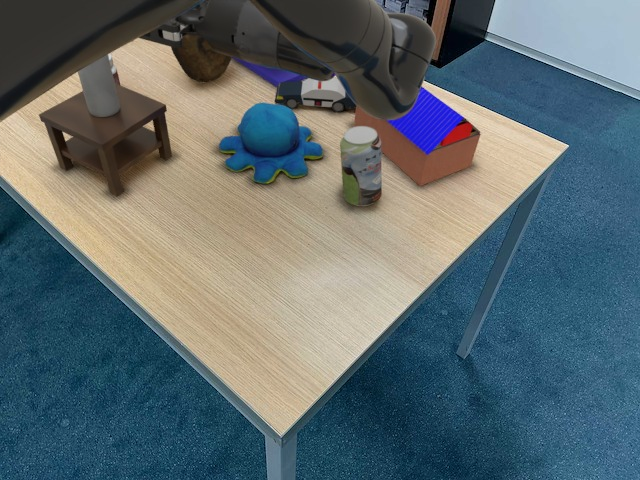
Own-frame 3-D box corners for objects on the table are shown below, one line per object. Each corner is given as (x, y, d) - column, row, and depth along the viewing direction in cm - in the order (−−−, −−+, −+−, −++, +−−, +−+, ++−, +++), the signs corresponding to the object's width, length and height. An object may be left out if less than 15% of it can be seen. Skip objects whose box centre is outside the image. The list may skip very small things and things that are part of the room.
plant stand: (116, 198, 83) (102, 144, 76) (57, 168, 88) (38, 114, 80) (174, 156, 91) (166, 104, 84) (117, 130, 96) (105, 78, 89)
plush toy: (210, 132, 97) (206, 91, 91) (300, 117, 102) (301, 77, 96) (235, 191, 86) (232, 148, 80) (334, 171, 91) (338, 129, 85)
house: (402, 110, 106) (412, 53, 97) (473, 166, 94) (492, 107, 86) (351, 126, 101) (358, 67, 92) (419, 187, 89) (434, 127, 81)
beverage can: (374, 215, 84) (385, 152, 75) (329, 203, 85) (335, 140, 77) (384, 191, 88) (396, 128, 80) (341, 180, 90) (348, 117, 81)
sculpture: (227, 63, 114) (220, -38, 100) (246, 82, 110) (241, -22, 95) (166, 78, 109) (150, -27, 95) (183, 98, 104) (169, -9, 90)
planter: (95, 100, 84) (78, 35, 77) (124, 102, 84) (109, 38, 77) (84, 116, 81) (65, 50, 73) (114, 119, 81) (98, 53, 73)
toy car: (277, 93, 107) (277, 70, 104) (358, 99, 107) (361, 76, 104) (274, 107, 104) (274, 84, 100) (358, 113, 104) (361, 90, 100)
